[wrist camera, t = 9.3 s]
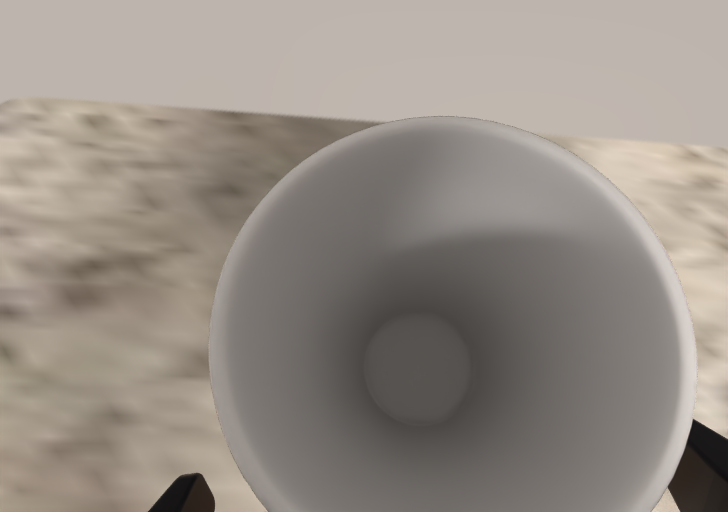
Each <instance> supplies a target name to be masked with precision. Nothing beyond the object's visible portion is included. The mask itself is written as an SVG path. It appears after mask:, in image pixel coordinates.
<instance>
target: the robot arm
mask: <svg viewBox="0 0 728 512" xmlns="http://www.w3.org/2000/svg"><path fill="white" fill-rule="evenodd" d="M668 489H669V491H670V493H671V495H672V497H673V499H674V501H675V502H676V504H677V506H678V508H679V510H680V512H728V439H727V438H725V437H723V436H721V435H720V434H718V433H716V432H715V431H713V430H711V429H710V428H708V427H706V426H705V425H703V424H701V423H699V422H698V421H696V420H694V419H693V420H692V426H691V429H690V433H689V436H688V440H687V443H686V446H685V450H684V453H683V455H682V457H681V460H680V462H679V464H678V467H677V469H676V472H675V474H674V476H673V478H672V480H671V482H670V483H669V485H668ZM214 511H215V500H214V497H213V494H212V492H211V490H210V489H209V487H208V485H207V483H206V481H205V479H204V477H203V475H202V474H200V473H192V474H184V475H181V476H179V477H178V478H177V479H176V480H175V481H174V482H173V483H172V485H171V486H170V487H169V488H168V489H167V490H166V491H165V493H164V494H163V495H162V496H161V497H160V498H159V499H158V501H157V502H156V503H155V504H154V505H153V506H152V508H151V509H150V510H149V511H148V512H214Z"/></svg>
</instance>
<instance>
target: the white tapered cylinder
mask: <svg viewBox="0 0 728 512" xmlns="http://www.w3.org/2000/svg"><path fill="white" fill-rule="evenodd" d="M209 370H210V380H211V388H212V393H213V398H214V403H215V408H216V412H217V415H218V418H219V422H220V425H221V429H222V432H223V434H224V437H225V439H226V442H227V444H228V447H229V449H230V452H231V454H232V456H233V458H234V460H235V462H236V464H237V466H238V468H239V469H240V471H241V473H242V475H243V477H244V479H245V480H246V482H247V483H248V485H249V486H250V488H251V489H252V491H253V492H254V494H255V495H256V497H257V498H258V500H259V501H260V502H261V503H262V505H263V506H264V507H265V508H266V510H267V511H268V512H651V511H652V510H653V509H654V507H655V506H656V505H657V503H658V502H659V501H660V499H661V497H662V496H663V494H664V492H665V490H666V489H667V487H668V485H669V483H670V482H671V480H672V478H673V476H674V474H675V472H676V469H677V467H678V464H679V462H680V460H681V457H682V455H683V453H684V450H685V446H686V443H687V440H688V436H689V433H690V429H691V426H692V420H693V414H694V409H695V403H696V393H697V377H698V369H697V348H696V341H695V334H694V327H693V322H692V318H691V314H690V310H689V306H688V302H687V298H686V295H685V293H684V290H683V287H682V284H681V281H680V279H679V276H678V274H677V272H676V269H675V267H674V265H673V263H672V261H671V259H670V257H669V255H668V253H667V251H666V249H665V248H664V246H663V244H662V243H661V241H660V239H659V238H658V236H657V234H656V233H655V231H654V230H653V228H652V227H651V226H650V224H649V223H648V222H647V220H646V219H645V217H644V216H643V215H642V213H641V212H640V211H639V210H638V209H637V208H636V206H635V205H634V204H633V203H632V202H631V201H630V200H629V198H628V197H627V196H626V195H625V194H624V193H623V192H622V191H621V190H620V189H619V188H617V187H616V186H615V185H614V184H613V183H612V182H611V181H610V180H609V179H608V178H607V177H605V176H604V175H603V174H602V173H600V172H599V171H598V170H597V169H595V168H594V167H593V166H591V165H590V164H588V163H587V162H586V161H584V160H583V159H581V158H580V157H578V156H577V155H575V154H574V153H572V152H570V151H568V150H566V149H565V148H563V147H561V146H559V145H557V144H555V143H554V142H551V141H549V140H547V139H545V138H542V137H540V136H538V135H536V134H533V133H530V132H527V131H524V130H522V129H519V128H516V127H513V126H509V125H505V124H501V123H497V122H493V121H487V120H481V119H475V118H466V117H454V116H433V117H419V118H409V119H404V120H397V121H392V122H388V123H384V124H380V125H376V126H372V127H369V128H366V129H364V130H361V131H358V132H355V133H353V134H350V135H348V136H346V137H344V138H341V139H339V140H337V141H335V142H333V143H331V144H329V145H328V146H326V147H324V148H322V149H320V150H319V151H317V152H316V153H314V154H313V155H311V156H310V157H308V158H307V159H305V160H304V161H302V162H301V163H300V164H299V165H297V166H296V167H295V168H294V169H292V170H291V171H290V172H288V173H287V174H286V175H285V176H284V177H283V178H282V179H281V180H280V181H279V182H278V183H277V184H276V185H275V186H274V187H273V188H272V189H271V190H270V191H269V192H268V193H267V194H266V196H265V197H264V198H263V199H262V200H261V201H260V203H259V204H258V205H257V207H256V208H255V209H254V211H253V212H252V213H251V215H250V216H249V217H248V219H247V221H246V222H245V224H244V225H243V227H242V229H241V230H240V232H239V234H238V235H237V237H236V239H235V241H234V243H233V245H232V247H231V249H230V251H229V253H228V256H227V259H226V261H225V264H224V266H223V269H222V271H221V274H220V278H219V281H218V285H217V288H216V292H215V296H214V301H213V306H212V312H211V318H210V329H209Z"/></svg>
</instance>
